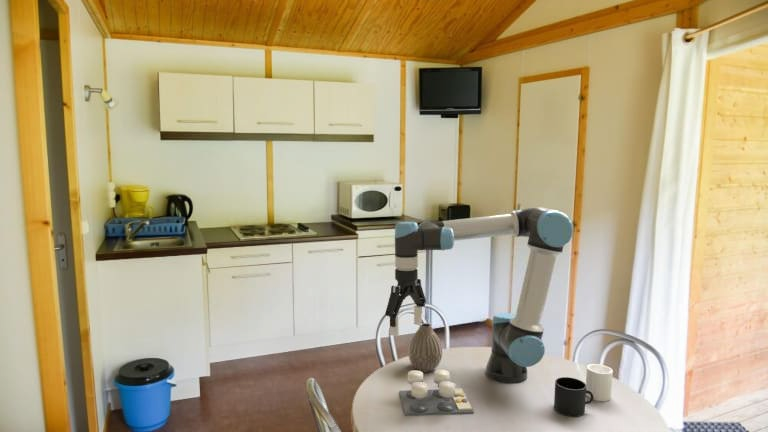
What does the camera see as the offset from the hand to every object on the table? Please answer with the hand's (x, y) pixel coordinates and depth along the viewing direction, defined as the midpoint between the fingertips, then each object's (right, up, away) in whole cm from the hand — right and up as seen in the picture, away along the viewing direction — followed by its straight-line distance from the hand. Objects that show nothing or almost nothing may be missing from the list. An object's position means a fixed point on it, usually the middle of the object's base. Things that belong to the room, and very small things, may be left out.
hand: (406, 330), depth 170 cm
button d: (+4, -21, -8) cm, 23 cm away
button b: (+13, -21, -7) cm, 25 cm away
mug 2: (+66, -23, +5) cm, 70 cm away
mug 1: (+54, -25, -7) cm, 60 cm away
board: (+9, -24, -2) cm, 25 cm away
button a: (+12, -20, +2) cm, 23 cm away
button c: (+3, -20, +1) cm, 20 cm away
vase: (+8, -21, +25) cm, 33 cm away
